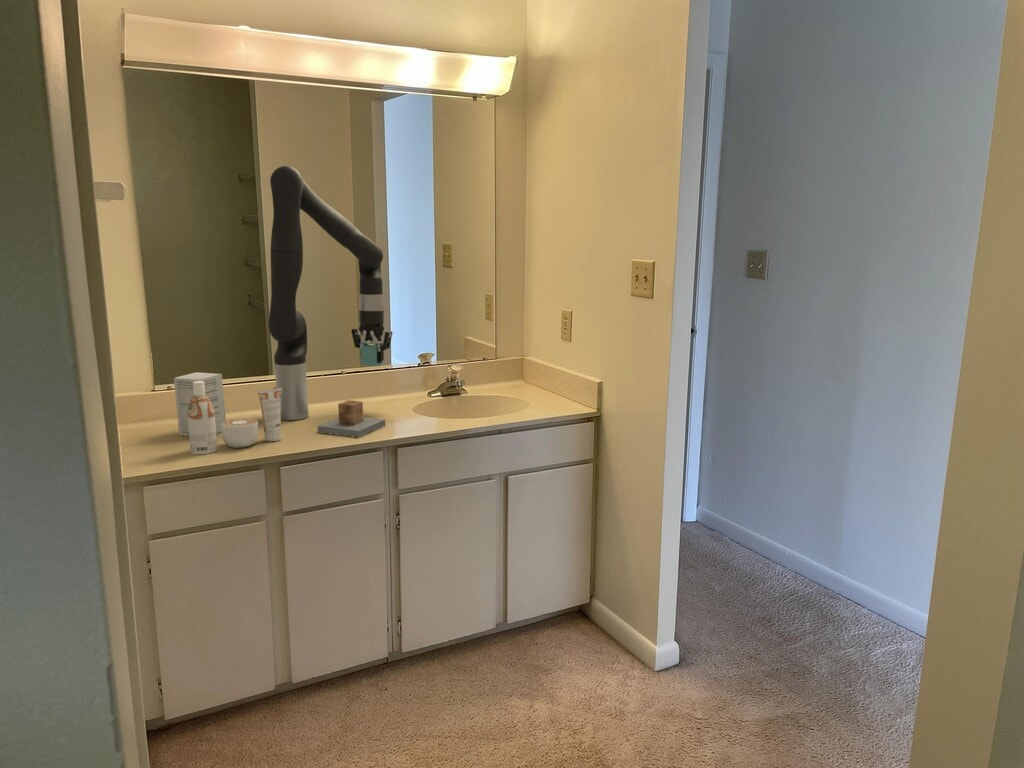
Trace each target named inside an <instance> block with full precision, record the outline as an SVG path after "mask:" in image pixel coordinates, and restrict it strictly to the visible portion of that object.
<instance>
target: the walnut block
mask: <svg viewBox="0 0 1024 768" xmlns="http://www.w3.org/2000/svg"><path fill="white" fill-rule="evenodd" d="M363 403H364V402H363V401H359V400H351V399H350V400H345V401H342V402H340V403H338V404H337V407H338V418H339V424H345V425H356V424H358V423H361V422H363V417H364V408H363V407H364V405H363Z"/></svg>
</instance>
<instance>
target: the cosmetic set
mask: <svg viewBox="0 0 1024 768" xmlns="http://www.w3.org/2000/svg"><path fill="white" fill-rule="evenodd" d="M193 391H194V396H193V397H192V399H191V401H190V402H189V405H188V409H187V414H188V426H189V436H188V438H189V446H190V447H189V449H190V453H191V454H193V455H198V454H202V455H210V454H212V453H215V452H216V451H217V450H218V441H217V440H218V439H217V434H216V425H215V413H214V407H213V404H212V402H211V401H210V399H209V398H208V397H207V396H206V394H205V385H204V381H195V382H193ZM281 393H282V388H277V389H273V388H269V389H262V390H257V395H258V397H259V402H260V406H261V407H260V408H261V415H262V422H263V435H264V440H265V441H267V442H269V441H270V442H272V441H274V442H278V441H280V440H281V439H282V426H281V425H282V423H281ZM221 429H222V432H221V437H222V440H223V442H224V444H226V445H227V446H228V447H231V448H235V449H236V448H237V449H240V448H241V449H243V448H247V446H248V447H250V446H252V445H254V444H255V443H256V442H257V440H258V438H259V423H258V420H257V419H255V418H251V417H250V418H249V417H240V418H232V419H226V421H224V422H222V423H221ZM272 443H273V442H272ZM242 447H243V448H242ZM209 453H210V454H209Z"/></svg>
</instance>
